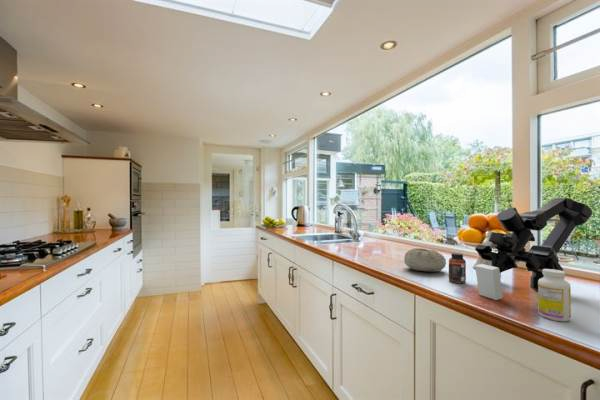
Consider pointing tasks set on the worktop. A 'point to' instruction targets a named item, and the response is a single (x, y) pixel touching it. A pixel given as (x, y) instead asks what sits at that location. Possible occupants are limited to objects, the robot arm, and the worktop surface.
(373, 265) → the worktop surface
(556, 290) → the supplement bottle
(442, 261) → the smooth grey pebble
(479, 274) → the white rectangular block
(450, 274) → the supplement bottle
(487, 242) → the stone figurine
